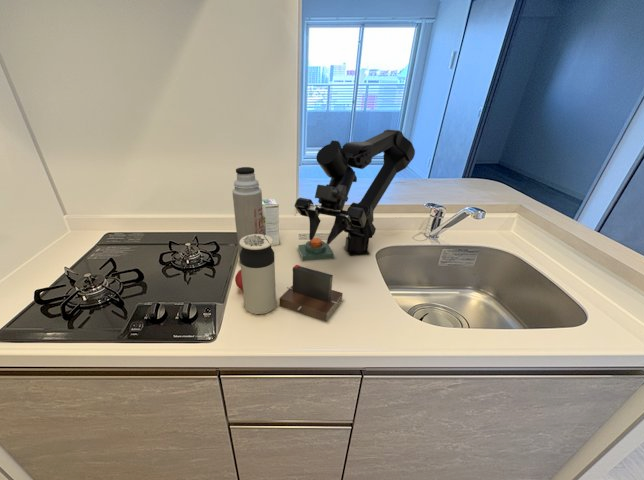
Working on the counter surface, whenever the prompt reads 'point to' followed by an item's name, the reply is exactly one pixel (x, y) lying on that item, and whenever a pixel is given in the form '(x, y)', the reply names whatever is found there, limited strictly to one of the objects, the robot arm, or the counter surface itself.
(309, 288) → the lever
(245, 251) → the travel mug
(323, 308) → the brown wooden base
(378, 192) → the robot arm
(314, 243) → the button
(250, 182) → the thermos bottle
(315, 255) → the button box
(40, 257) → the counter surface
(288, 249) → the counter surface
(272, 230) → the syrup box
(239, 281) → the onion
